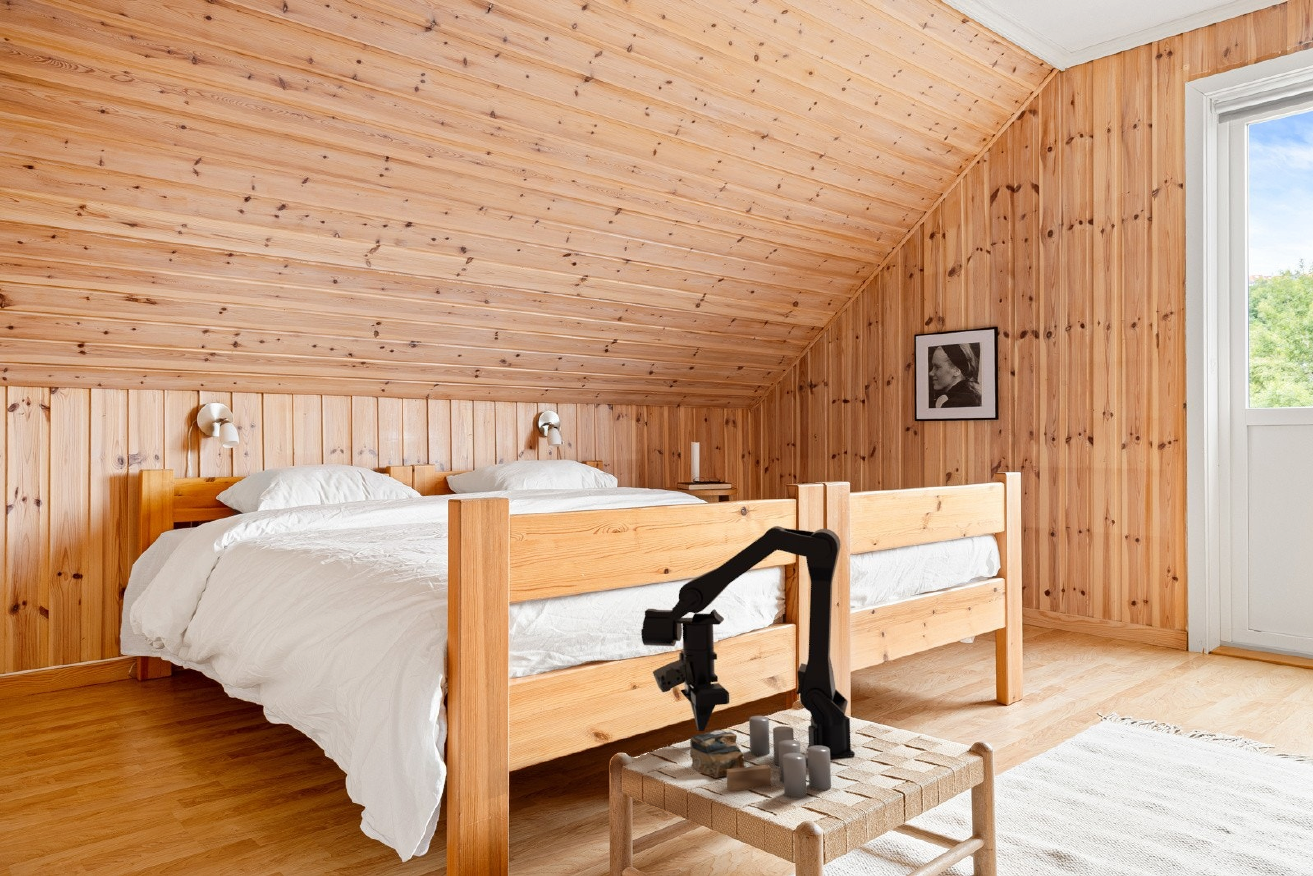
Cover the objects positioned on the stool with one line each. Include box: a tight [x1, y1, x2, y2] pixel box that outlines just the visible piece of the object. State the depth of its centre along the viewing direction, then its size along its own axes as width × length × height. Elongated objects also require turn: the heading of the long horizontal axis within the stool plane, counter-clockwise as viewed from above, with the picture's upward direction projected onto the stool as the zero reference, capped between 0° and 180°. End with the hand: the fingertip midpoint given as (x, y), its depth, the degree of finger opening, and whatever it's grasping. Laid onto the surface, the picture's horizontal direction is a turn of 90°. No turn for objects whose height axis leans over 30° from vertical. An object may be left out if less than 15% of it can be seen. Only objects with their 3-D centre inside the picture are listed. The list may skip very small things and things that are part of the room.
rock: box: [689, 729, 746, 778], centre depth 155 cm, size 9×9×6 cm
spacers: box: [748, 715, 832, 800], centre depth 152 cm, size 8×24×6 cm, turn 12°
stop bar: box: [726, 764, 772, 792], centre depth 145 cm, size 7×2×3 cm, turn 102°
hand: (701, 731), depth 167 cm, fingers closed
